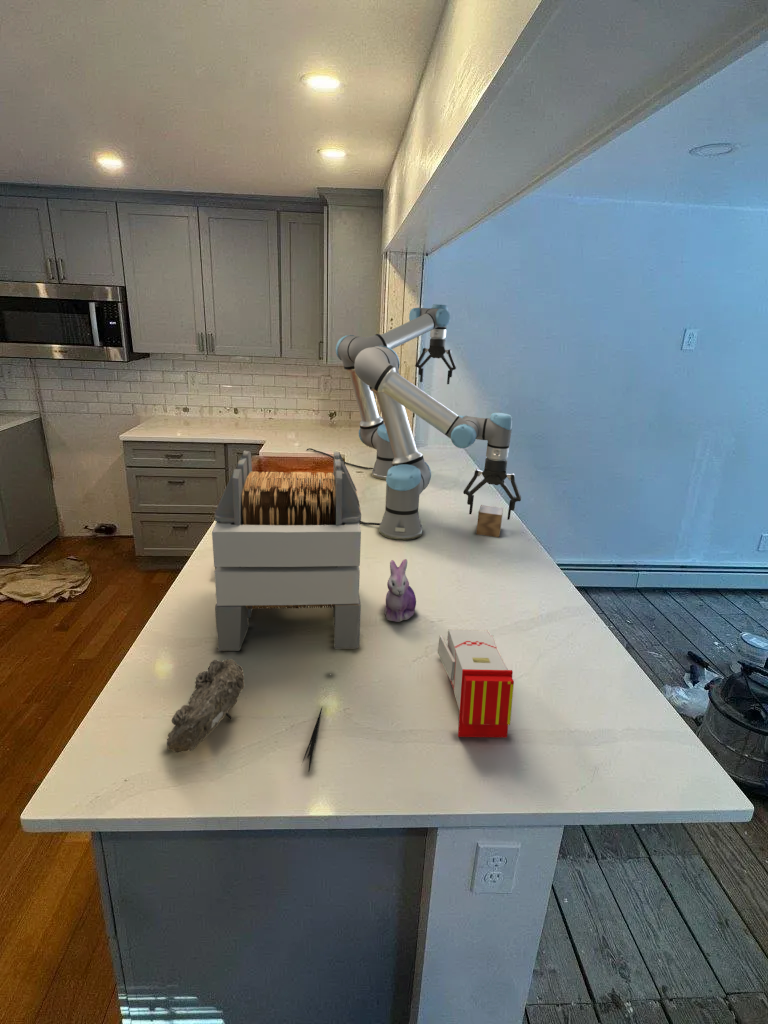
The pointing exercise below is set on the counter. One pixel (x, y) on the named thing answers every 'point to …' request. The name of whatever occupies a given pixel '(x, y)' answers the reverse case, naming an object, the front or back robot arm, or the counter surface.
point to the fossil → (206, 705)
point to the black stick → (313, 740)
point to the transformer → (287, 549)
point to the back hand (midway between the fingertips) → (434, 383)
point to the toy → (478, 682)
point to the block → (489, 520)
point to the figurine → (399, 594)
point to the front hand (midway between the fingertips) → (489, 515)
